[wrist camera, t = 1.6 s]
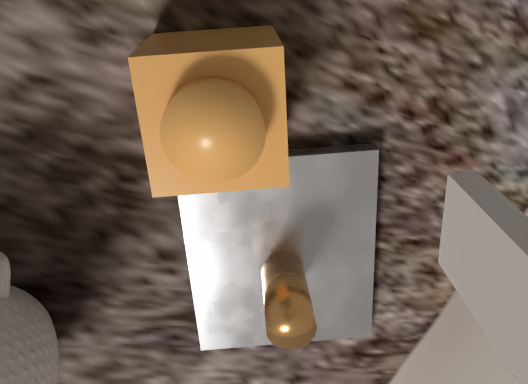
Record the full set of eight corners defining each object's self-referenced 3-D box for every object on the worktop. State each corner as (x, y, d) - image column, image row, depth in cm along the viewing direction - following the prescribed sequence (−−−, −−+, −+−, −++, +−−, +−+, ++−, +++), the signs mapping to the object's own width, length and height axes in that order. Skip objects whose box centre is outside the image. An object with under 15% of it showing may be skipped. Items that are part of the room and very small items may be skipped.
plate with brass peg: (175, 158, 30) (160, 209, 24) (373, 142, 30) (409, 189, 24) (202, 338, 36) (195, 416, 30) (367, 324, 36) (393, 398, 30)
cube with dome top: (153, 33, 27) (121, 62, 19) (271, 24, 27) (286, 51, 19) (169, 145, 29) (148, 209, 22) (277, 137, 29) (292, 198, 22)
